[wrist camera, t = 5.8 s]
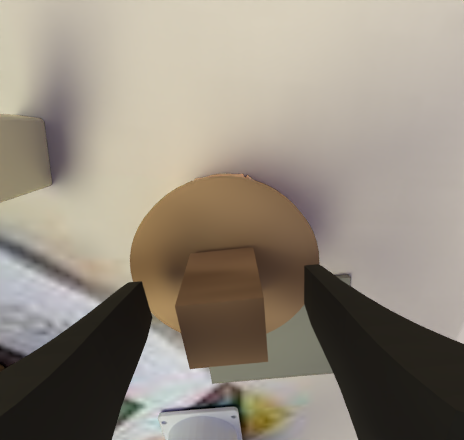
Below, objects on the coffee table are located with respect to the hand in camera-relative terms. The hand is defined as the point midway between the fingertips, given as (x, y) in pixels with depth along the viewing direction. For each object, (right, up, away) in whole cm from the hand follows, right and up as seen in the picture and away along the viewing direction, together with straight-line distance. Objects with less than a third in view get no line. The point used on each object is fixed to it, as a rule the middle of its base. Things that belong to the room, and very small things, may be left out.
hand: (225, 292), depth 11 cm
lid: (0, +1, +2) cm, 3 cm away
